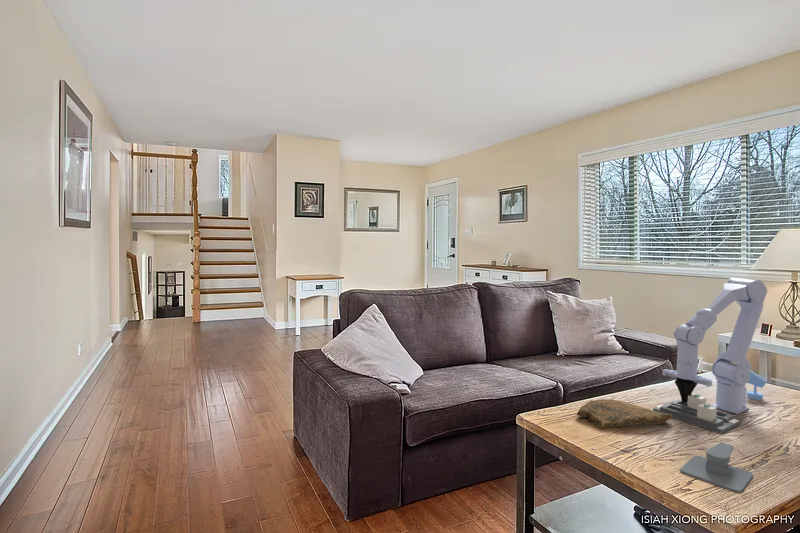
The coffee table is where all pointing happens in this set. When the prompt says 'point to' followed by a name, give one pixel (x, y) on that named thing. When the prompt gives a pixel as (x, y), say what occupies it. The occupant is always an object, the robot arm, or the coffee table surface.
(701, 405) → the tab
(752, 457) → the coffee table surface
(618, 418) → the rock
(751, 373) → the spotlight
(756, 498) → the coffee table surface
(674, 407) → the switch bank
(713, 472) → the shower valve
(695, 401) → the tab
